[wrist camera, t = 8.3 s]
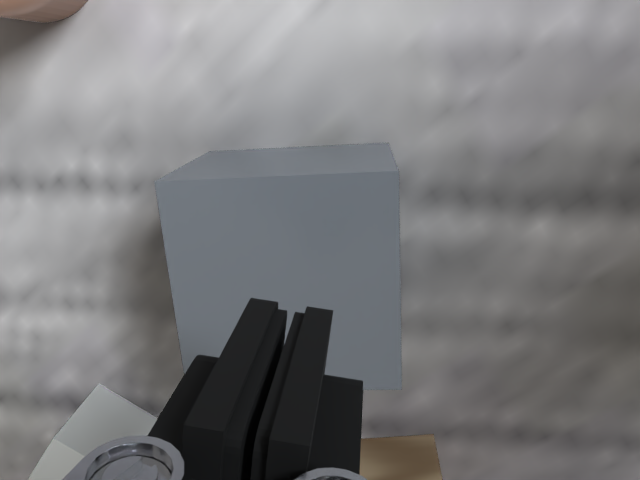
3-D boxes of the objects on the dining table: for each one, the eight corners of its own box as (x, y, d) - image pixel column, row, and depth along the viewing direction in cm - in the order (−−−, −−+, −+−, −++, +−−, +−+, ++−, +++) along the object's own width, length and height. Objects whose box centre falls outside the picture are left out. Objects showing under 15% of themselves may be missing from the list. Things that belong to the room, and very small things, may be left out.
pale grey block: (209, 447, 25) (183, 513, 22) (169, 499, 27) (138, 571, 23) (100, 381, 25) (53, 437, 21) (64, 438, 26) (13, 502, 22)
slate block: (388, 142, 20) (399, 170, 15) (391, 308, 23) (401, 389, 17) (210, 150, 21) (154, 181, 15) (229, 311, 23) (186, 391, 17)
